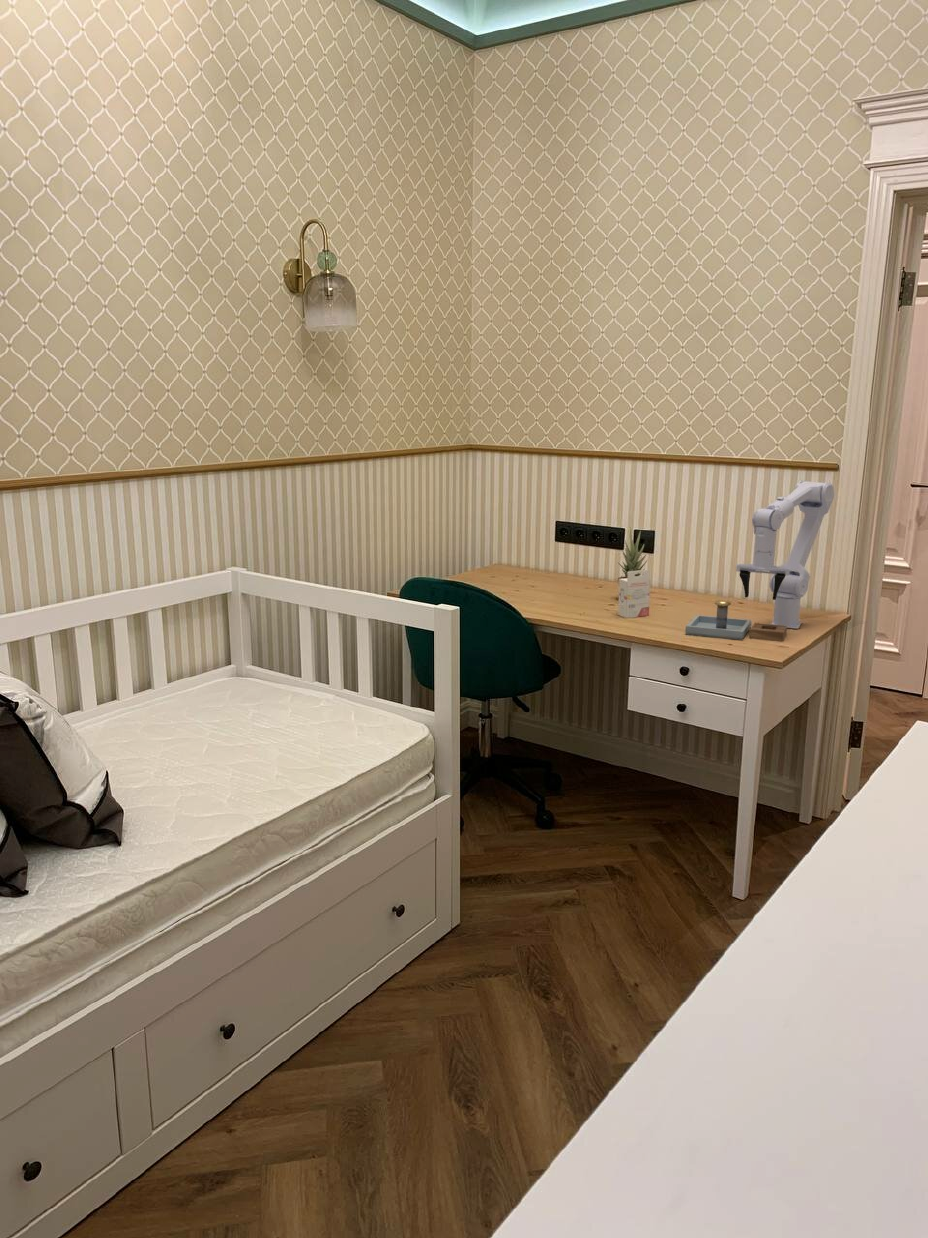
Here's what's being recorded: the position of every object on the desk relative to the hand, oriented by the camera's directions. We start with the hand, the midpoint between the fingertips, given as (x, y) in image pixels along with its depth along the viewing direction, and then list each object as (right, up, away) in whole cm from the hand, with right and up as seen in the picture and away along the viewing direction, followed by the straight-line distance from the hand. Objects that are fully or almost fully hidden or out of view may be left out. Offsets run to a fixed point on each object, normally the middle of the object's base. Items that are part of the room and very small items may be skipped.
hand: (760, 597), depth 279 cm
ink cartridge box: (-32, -5, +24) cm, 41 cm away
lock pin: (-10, -9, +4) cm, 14 cm away
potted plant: (-29, 0, +48) cm, 56 cm away
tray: (-11, -10, +4) cm, 15 cm away
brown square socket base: (+2, -11, -1) cm, 11 cm away
